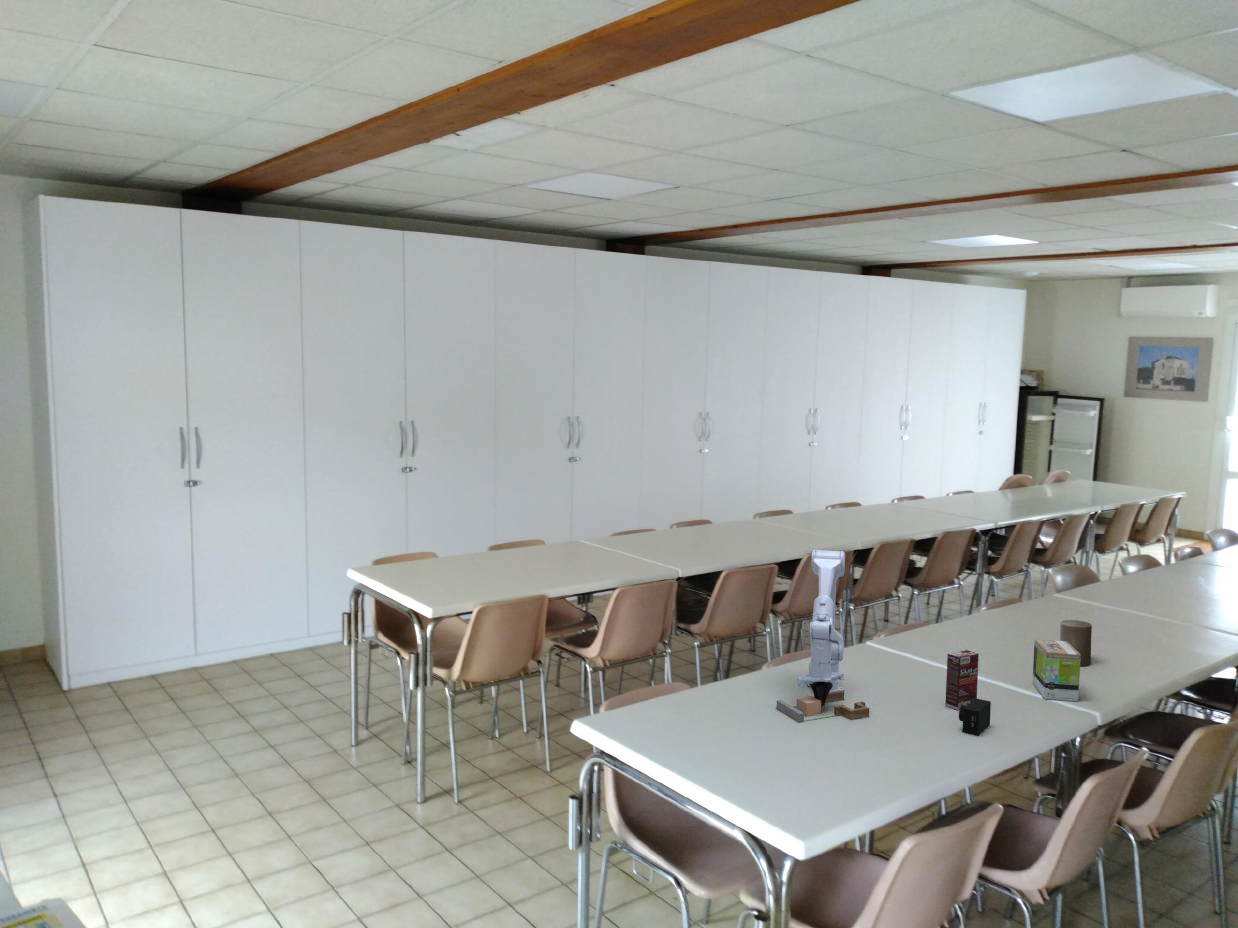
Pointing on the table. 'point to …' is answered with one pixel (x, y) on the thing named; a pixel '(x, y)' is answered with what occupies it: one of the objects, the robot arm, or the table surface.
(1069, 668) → the tea box
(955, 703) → the supplement box
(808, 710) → the block
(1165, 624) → the table surface
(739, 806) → the table surface
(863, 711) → the channel
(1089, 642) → the pillar candle
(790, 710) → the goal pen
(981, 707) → the digital camera
